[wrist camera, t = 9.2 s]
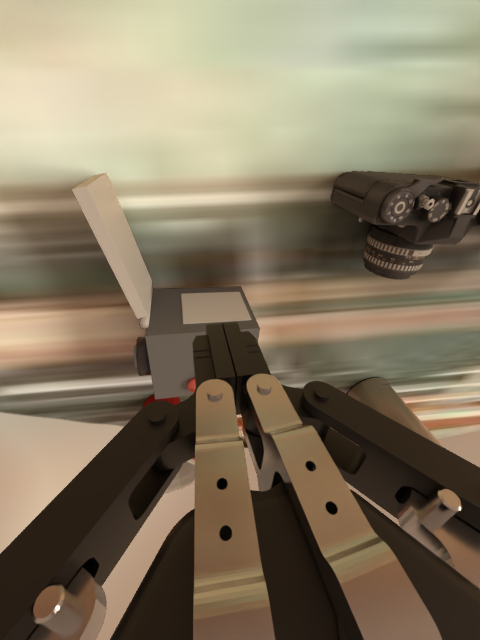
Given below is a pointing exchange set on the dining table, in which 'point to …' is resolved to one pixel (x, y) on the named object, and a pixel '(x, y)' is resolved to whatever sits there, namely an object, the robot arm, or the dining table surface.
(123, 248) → the side door
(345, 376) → the dining table surface
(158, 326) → the camera body
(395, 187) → the camera
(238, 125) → the dining table surface
